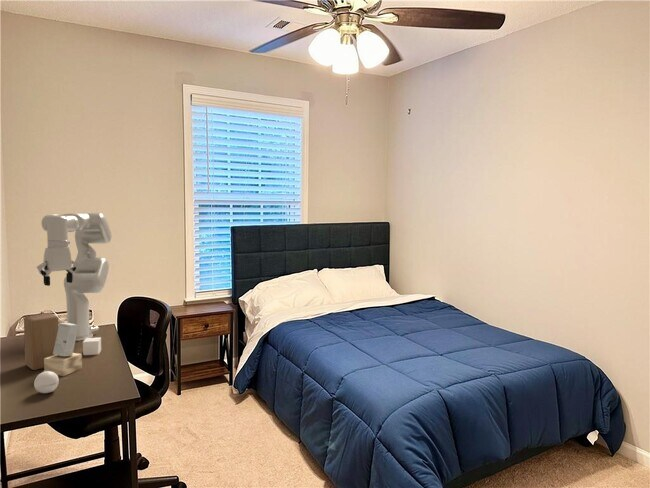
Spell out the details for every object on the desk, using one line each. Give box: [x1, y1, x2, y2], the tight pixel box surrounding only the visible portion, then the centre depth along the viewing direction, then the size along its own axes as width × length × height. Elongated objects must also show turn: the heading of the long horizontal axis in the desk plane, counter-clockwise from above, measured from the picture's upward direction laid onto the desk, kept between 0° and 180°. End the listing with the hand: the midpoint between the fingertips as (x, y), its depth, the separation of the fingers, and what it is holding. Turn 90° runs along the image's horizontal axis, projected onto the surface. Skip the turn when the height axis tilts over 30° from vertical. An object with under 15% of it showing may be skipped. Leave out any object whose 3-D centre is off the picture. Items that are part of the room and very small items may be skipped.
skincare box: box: [53, 322, 79, 356], centre depth 178 cm, size 6×4×12 cm
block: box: [23, 312, 60, 371], centre depth 183 cm, size 10×10×20 cm
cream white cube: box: [82, 336, 102, 356], centre depth 200 cm, size 6×6×6 cm
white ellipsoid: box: [33, 371, 67, 394], centre depth 157 cm, size 10×7×7 cm
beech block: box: [43, 352, 83, 377], centre depth 178 cm, size 9×9×6 cm
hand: (58, 283), depth 198 cm, fingers open, 9 cm apart
